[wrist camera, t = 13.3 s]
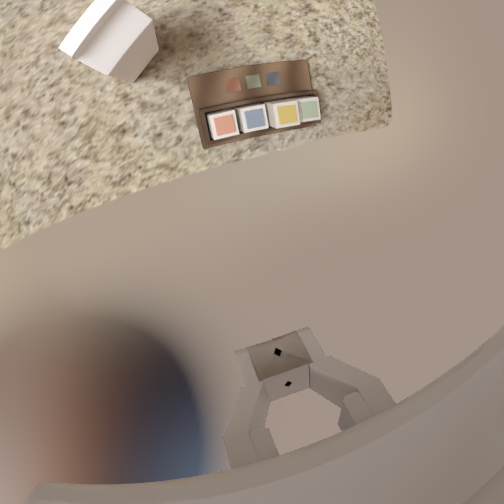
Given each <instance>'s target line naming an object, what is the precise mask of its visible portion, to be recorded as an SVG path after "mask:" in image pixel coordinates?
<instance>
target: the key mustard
mask: <svg viewBox="0 0 504 504" xmlns="http://www.w3.org/2000/svg"><path fill="white" fill-rule="evenodd" d="M264 104H265V109H266V115H267V121H268V126H271V127H273V128H276V129H278V128H283V127H289V126H295V125H300V118H299V111H298V103H297V100H290V99H283V100H276V101H270V102H264Z"/></svg>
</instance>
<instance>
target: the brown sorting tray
mask: <svg viewBox="0 0 504 504" xmlns="http://www.w3.org/2000/svg"><path fill="white" fill-rule="evenodd" d="M187 81H188V85H189V90H190V94H191V99H192V103H193V108H194V112H195V116H196V121H197V125H198V129H199V134H200V138H201V142H202V146H203V149H206V148H210V147H214V146H218V145H222V144H226V143H230V142H234V141H238V140H243V139H247V138H252V137H256V136H261V135H266V134H271V133H276V132H281V131H287V130H292V129H298V128H304V127H310V126H316V123H321V120H314V121H307V122H301V123H300V125H295V126H289V127H283V128H278V129H276V128H273V127H271V126H268V127H269V128H267V129H262V130H257V131H252V132H247V133H243V132H242V131H240V130H239V134H238V135H234V136H230V137H226V138H221V139H217V140H214V139H213V138H212V137H211V136H210V132H209V128H208V124H207V119H206V113H210V112H215V111H219V110H223V109H228V108H230V109H233V110H234V107H238V106H243V105H248V104H253V103H260V104H264V102H270V101H276V100H283V99H286V98H291V97H299V96H314V97H318V94H317V90H312V89H311V82H310V75H309V69H308V62H307V60H298V61H285V62H275V63H267V64H259V65H251V66H245V67H238V68H233V69H227V70H222V71H216V72H211V73H207V74H202V75H198V76H193V77H189V78H187Z"/></svg>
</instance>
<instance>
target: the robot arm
mask: <svg viewBox="0 0 504 504" xmlns="http://www.w3.org/2000/svg"><path fill="white" fill-rule="evenodd" d="M234 353H235V357H236V360H237V364H238V367H239V370H240V373H241V376H242V380H243V383H244V386H243V387H241V388H240V391H239V394H238V397H237V400H236V403H235V405H234V408H233V411H232V413H231V416H230V419H229V422H228V424H227V427H226V430H225V432H224V435H223V441H224V445H225V448H226V452H227V456H228V459H229V463H230V467H231V469H230V470H225V471H221V472H217V473H212V474H207V475H201V476H195V477H190V478H183V479H176V480H169V481H160V482H150V483H138V484H120V485H83V484H64V483H54V482H39V483H38V484H37V485H36V486H35V487H34V488H33V489H32V491H31V492H30V494H29V495H28V497H27V498H26V500H25V502H24V504H504V326H503V327H502V328H501V329H499V330H498V331H497V332H496V333H495V334H494V335H493V336H492V337H490V338H489V339H488V340H487V341H486V342H485V343H483V344H482V345H481V346H480V347H479V348H477V349H476V350H475V351H474V352H472V353H471V354H470V355H469V356H468V357H466V358H465V359H463V360H462V361H461V362H459V363H458V364H457V365H455V366H454V367H453V368H451V369H450V370H448V371H447V372H446V373H444V374H443V375H441V376H440V377H438V378H437V379H436V380H434V381H433V382H431V383H430V384H428V385H426V386H425V387H423V388H422V389H421V390H419V391H417V392H415V393H414V394H413V395H411V396H409V397H407V398H406V399H404V400H402V401H400V402H399V403H397V404H396V403H395V402H394V400H393V399H392V397H391V395H390V394H389V393H388V391H387V389H386V388H385V386H384V385H383V383H382V382H381V381H380V379H379V378H377V377H374V376H372V375H370V374H368V373H366V372H364V371H361V370H359V369H357V368H355V367H353V366H351V365H349V364H347V363H345V362H342V361H340V360H338V359H336V358H334V357H332V356H327V357H326V355H325V353H324V351H323V350H322V348H321V346H320V345H319V343H318V341H317V339H316V338H315V336H314V334H313V333H312V331H311V329H310V328H309V327H305V328H302V329H299V330H297V331H293V332H291V333H288V334H285V335H282V336H280V337H277V338H274V339H272V340H269V341H266V342H263V343H260V344H256V345H253V346H249V347H246V348H243V349H239V350H236V351H234ZM307 388H310V389H312V390H313V391H315V392H317V393H318V394H320V395H321V396H323V397H324V398H326V399H327V400H329V401H330V402H332V403H334V404H335V405H337V406H338V407H340V408H341V412H340V417H339V421H338V425H339V427H340V429H341V431H342V432H340V433H338V434H335V435H333V436H330V437H328V438H326V439H323V440H321V441H318V442H316V443H313V444H311V445H308V446H306V447H303V448H300V449H297V450H294V451H291V452H289V453H286V454H283V455H280V456H279V453H278V451H277V448H276V446H275V443H274V440H273V438H272V435H271V433H270V430H269V429H268V428H265V427H264V426H265V422H266V418H267V414H268V410H269V405H270V402H271V401H274V400H277V399H279V398H282V397H285V396H287V395H290V394H293V393H296V392H299V391H302V390H305V389H307Z"/></svg>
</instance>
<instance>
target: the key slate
mask: <svg viewBox="0 0 504 504" xmlns="http://www.w3.org/2000/svg"><path fill="white" fill-rule="evenodd" d="M234 110H235V114H236V119H237V124H238V129H239V130H240V131H242V132H243V133H247V132H252V131H257V130H262V129H267V128H269V127H268V121H267V115H266V109H265V104H260V103H253V104H248V105H243V106H238V107H234Z"/></svg>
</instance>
